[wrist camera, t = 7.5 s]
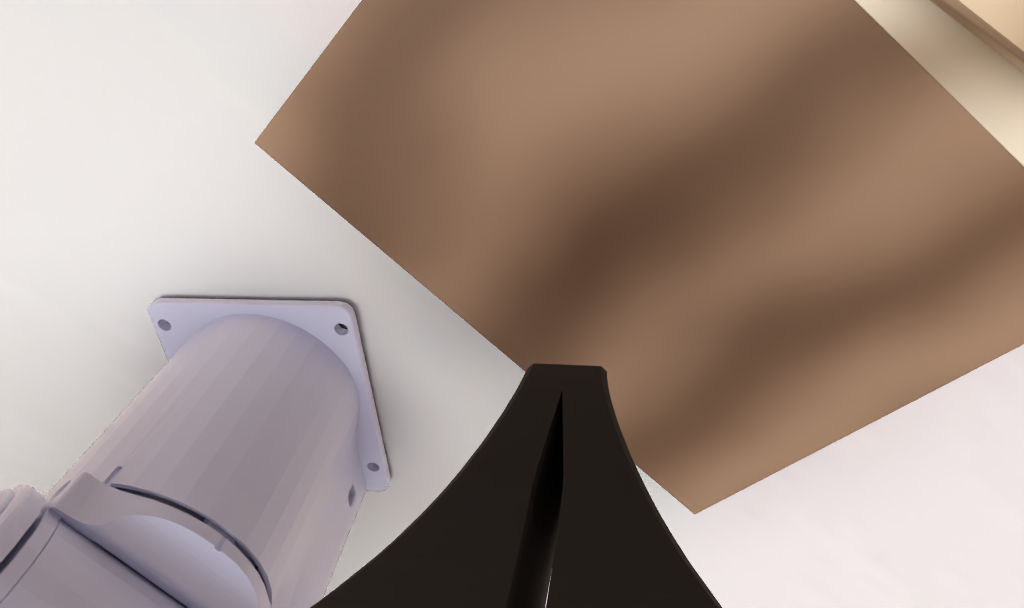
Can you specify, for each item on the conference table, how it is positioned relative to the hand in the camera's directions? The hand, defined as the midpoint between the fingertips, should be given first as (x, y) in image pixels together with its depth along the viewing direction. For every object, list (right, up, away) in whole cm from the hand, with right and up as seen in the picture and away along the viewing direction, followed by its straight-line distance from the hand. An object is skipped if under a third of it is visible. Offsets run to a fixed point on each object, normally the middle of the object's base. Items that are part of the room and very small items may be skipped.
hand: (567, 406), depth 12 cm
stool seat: (+6, +7, +7) cm, 12 cm away
